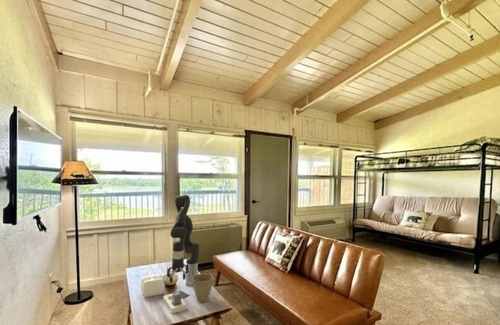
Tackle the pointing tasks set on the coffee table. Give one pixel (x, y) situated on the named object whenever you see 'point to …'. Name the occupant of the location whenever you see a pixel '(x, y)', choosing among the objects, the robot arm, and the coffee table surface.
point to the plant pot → (202, 286)
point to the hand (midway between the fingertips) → (177, 281)
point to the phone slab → (183, 294)
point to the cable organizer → (152, 285)
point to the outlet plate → (168, 302)
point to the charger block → (176, 298)
